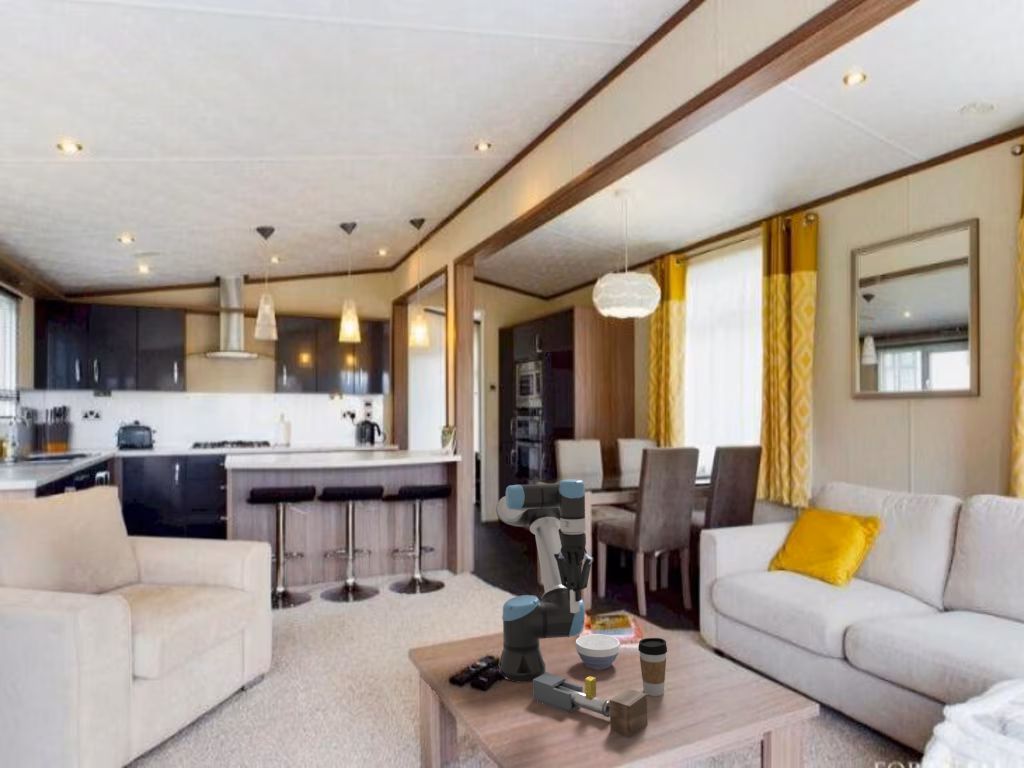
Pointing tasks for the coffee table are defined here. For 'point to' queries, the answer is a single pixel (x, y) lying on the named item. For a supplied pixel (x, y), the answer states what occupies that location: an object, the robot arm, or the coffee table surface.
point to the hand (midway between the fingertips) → (574, 611)
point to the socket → (628, 712)
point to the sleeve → (554, 692)
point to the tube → (588, 698)
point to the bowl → (597, 650)
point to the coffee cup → (653, 665)
